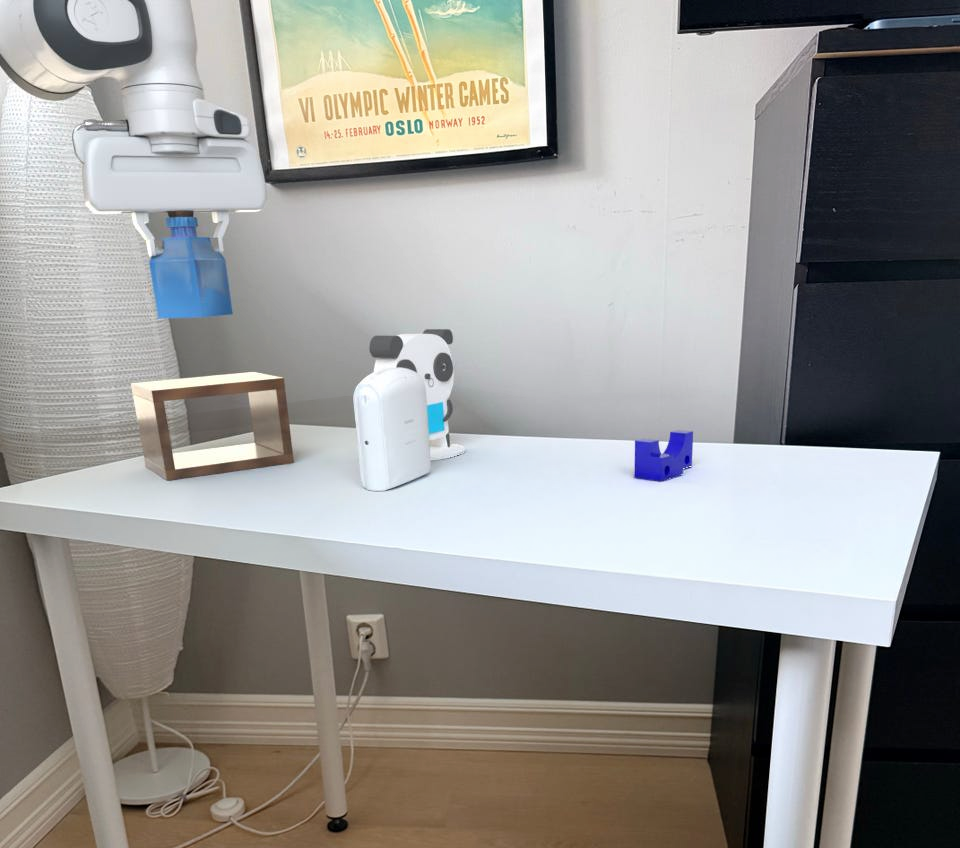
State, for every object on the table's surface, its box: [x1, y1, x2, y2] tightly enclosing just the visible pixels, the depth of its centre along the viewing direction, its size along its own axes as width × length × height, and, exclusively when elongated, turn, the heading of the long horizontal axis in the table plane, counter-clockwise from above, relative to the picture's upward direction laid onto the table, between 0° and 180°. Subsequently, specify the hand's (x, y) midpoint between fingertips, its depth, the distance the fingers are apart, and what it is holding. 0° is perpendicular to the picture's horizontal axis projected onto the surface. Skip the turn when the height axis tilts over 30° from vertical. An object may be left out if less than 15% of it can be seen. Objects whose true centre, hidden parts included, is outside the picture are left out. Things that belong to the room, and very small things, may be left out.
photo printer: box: [352, 367, 432, 492], centre depth 102 cm, size 10×4×12 cm, turn 153°
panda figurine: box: [368, 328, 466, 461], centre depth 117 cm, size 12×11×15 cm
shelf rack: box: [130, 371, 295, 482], centre depth 117 cm, size 16×12×10 cm
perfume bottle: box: [148, 211, 233, 320], centre depth 109 cm, size 6×6×12 cm
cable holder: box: [634, 429, 694, 482], centre depth 101 cm, size 8×4×4 cm, turn 135°
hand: (187, 255), depth 109 cm, fingers closed on perfume bottle, 5 cm apart
